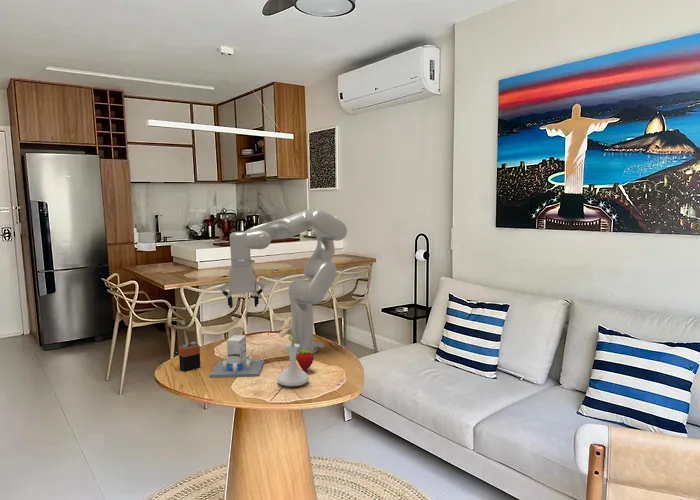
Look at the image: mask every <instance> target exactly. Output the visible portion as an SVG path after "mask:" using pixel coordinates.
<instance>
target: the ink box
mask: <svg viewBox="0 0 700 500" xmlns="http://www.w3.org/2000/svg"><path fill="white" fill-rule="evenodd" d="M226 346H227V347H226V352H227V353H226V354H227V355H226V356H228V370H233V363H237V370H238V371H240V370H241V369H242V368H243V367H244V366H245V365H246V360H247V335H243V334H233V335H232V336H231V337H229V338H228V339H227V341H226Z"/></svg>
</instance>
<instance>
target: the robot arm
mask: <svg viewBox="0 0 700 500" xmlns="http://www.w3.org/2000/svg"><path fill="white" fill-rule="evenodd" d="M347 229H348V227H347V226H346V224H345V223H344V222H343V221H342V220H341V219H338V218H336V217H335V216H333V215H331V214H330V213H328V212H326V211H324V210H322V209H304V210H301V211H299V212H296V213H294V214H291V215H287V216H286V217H283V218H280V219H275V220H272V221H269V222H265V223H262V224H258V225H256V226H253V227H250V228H248V229H246V230H245V231H235V232H233V231H232V232H231V233H230V234H229V245H230V246H229V247H230V267H229V272H228V282H226V283H224V284H222V285H221V286H220V287H219V289H220V291H221V292H222V295H224V296H225V297H226V298H227V306H229V309H232V308H233V306H234V304H233V296H232V295H233V294H243V293H246V294H247V293H252V294H253V295H254V298H253V300H254V301H253V302H254V307H256V308H257V307H258V305H260V302H259V301H260V300H259V298H260V297H259V296H260V295H261V293H262V292H263V291H264V289H265V287H266V284H264V283H263V282H260V281H258V280H256V271H255V267H254V265H253V264H255V263H256V261H255V259H252V257H251V250H265V249H266V248H268V247H269V246H270V245H271V241H273V240H284V239H289V238H292V237H295V236H297V235H300V234H302V233H304V232H307V231H310V230H314V232H315V237H316V242H317V244H316V248H315V249H314V252H313V253H312V255H311V256H310V258H309V259H308V261H307V262H306V264H305V266H304V268H303V275H304V277H306V279H304V278H298V279H294V280H293V281H292V282H291V283H290V284H289V287H288V299H289V303H290V317H291V316H292V319H293V320H292V325H291V328H290V329H291V331H292V333H293V335H294V338H295V342H294V344H299V345H300V346H299V348H298V350H297V353H296V356H297V355H298V353H300V352H299V351H301V350H305V349H306V350H307V351H308V350H313V351H310V352H311V354H312V355H314V354H316V353H317V352H318V348H321V349H324V347H325V345H324V342H320V341H319V342H317V341H315V339H314V309H313V305H318V304H320V303H321V302H322V301H323V299H324V298H325V297H326V295H327V293H328V292H329V290H330V288H331V287H332V286H333V283H334V281H335V279H336V276H337V273H338V271H337V267H336V265H335V263H334V262H332V259H333V258H334V256H335V251H336V250H335V242H334V241H336V242H337V241H341V240H343V239H344V238H346V236H347V233H348V230H347ZM257 286H258V287H260V288H259V290H257ZM227 287H228V290H229V292H228V291H227V290H226V289H225V288H227ZM291 331H290V334H291V335H292V333H291ZM290 344H292V342H291V341H290ZM306 347H307V348H306ZM287 353H288V354H289V352H288V351H287Z"/></svg>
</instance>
